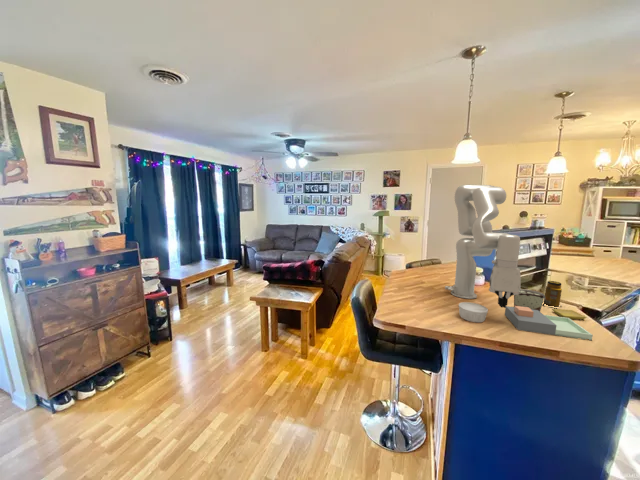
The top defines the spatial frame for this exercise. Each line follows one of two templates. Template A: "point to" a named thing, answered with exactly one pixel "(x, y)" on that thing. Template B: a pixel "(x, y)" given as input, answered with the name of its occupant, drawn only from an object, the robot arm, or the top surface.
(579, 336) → the box
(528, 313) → the tile
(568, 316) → the olive flat square tray
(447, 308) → the top surface
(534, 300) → the food container
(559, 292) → the condiment
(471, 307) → the ramekin
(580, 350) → the top surface
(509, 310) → the ledge
